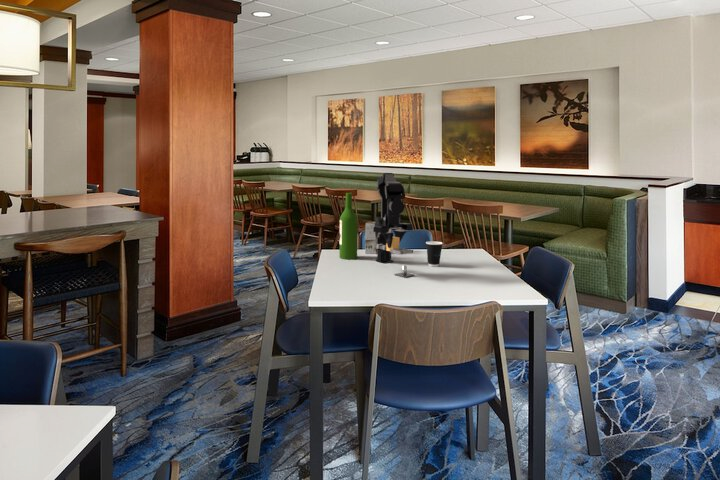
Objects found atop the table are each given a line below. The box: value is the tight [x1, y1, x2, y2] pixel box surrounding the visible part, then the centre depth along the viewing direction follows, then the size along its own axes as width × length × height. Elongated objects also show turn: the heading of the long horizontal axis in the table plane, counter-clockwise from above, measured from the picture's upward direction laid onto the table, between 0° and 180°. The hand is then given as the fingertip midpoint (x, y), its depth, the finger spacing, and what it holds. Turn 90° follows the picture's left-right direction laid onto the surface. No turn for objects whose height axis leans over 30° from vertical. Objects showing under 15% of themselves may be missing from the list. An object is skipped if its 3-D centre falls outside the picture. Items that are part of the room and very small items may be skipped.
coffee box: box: [364, 221, 378, 255], centre depth 276 cm, size 9×6×16 cm
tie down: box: [374, 235, 414, 255], centre depth 227 cm, size 20×7×6 cm, turn 40°
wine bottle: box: [338, 192, 359, 260], centre depth 258 cm, size 9×9×32 cm
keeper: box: [394, 264, 415, 279], centre depth 223 cm, size 6×6×5 cm
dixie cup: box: [425, 240, 444, 268], centre depth 244 cm, size 8×8×11 cm
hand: (392, 247), depth 227 cm, fingers closed on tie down, 4 cm apart
